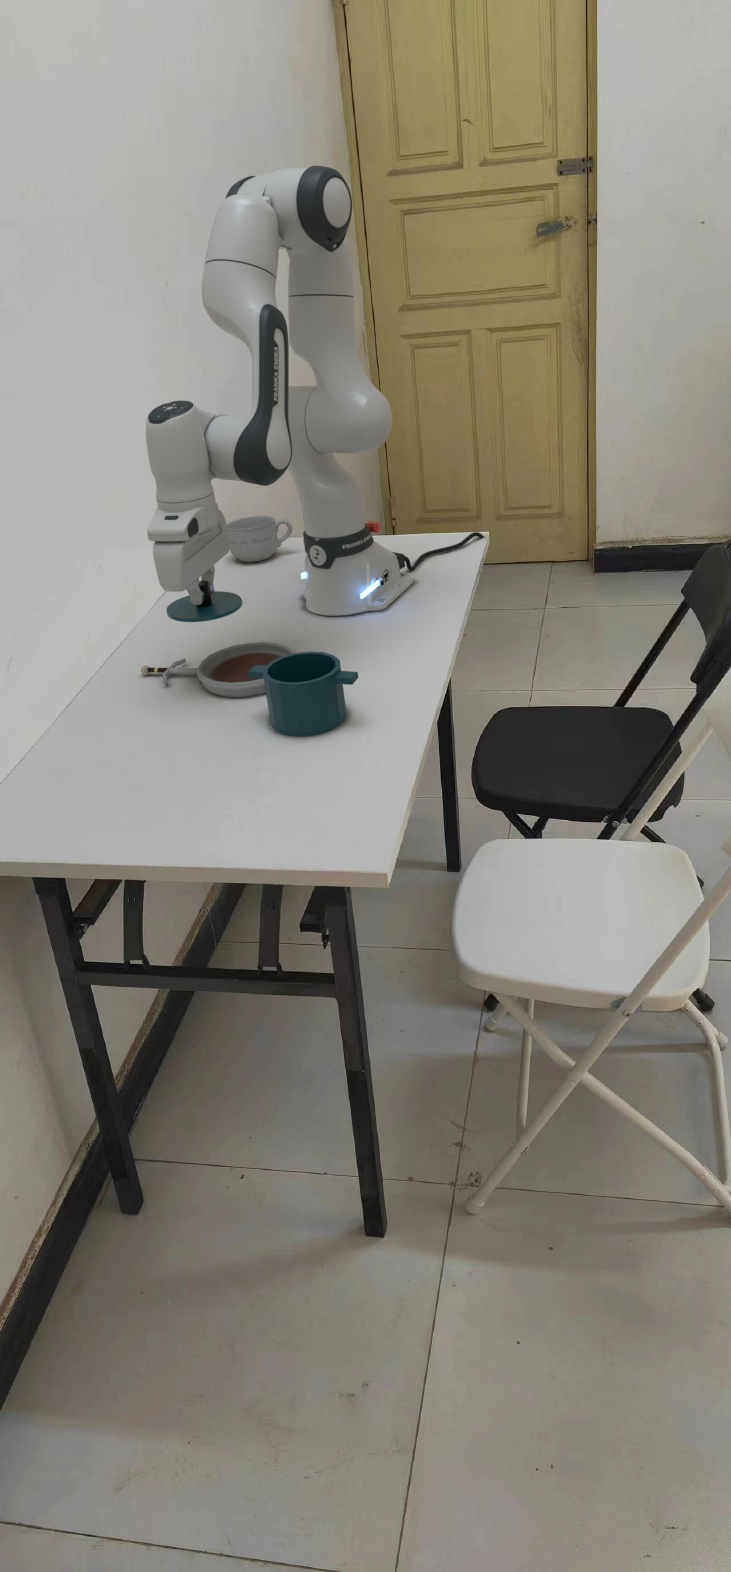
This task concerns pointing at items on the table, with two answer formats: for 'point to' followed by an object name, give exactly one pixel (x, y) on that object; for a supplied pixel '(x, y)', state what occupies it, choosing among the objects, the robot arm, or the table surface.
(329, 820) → the table surface
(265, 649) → the frying pan
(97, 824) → the table surface
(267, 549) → the teacup
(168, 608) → the lid
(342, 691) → the pot
